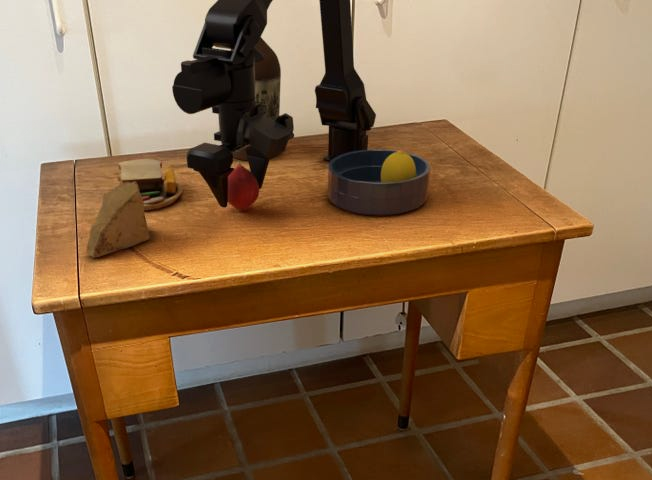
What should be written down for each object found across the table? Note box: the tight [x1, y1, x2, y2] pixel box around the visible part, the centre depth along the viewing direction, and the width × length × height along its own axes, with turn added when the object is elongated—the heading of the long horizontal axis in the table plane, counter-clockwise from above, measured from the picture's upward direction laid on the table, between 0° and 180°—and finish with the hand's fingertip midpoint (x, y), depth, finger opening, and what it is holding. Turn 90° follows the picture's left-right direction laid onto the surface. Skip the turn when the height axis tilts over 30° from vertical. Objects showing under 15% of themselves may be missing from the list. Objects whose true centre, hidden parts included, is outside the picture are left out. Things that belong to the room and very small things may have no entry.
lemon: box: [381, 149, 416, 183], centre depth 117 cm, size 6×6×8 cm
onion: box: [227, 161, 260, 212], centre depth 117 cm, size 6×6×8 cm
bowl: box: [327, 148, 431, 216], centre depth 120 cm, size 16×16×6 cm
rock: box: [86, 181, 150, 259], centre depth 108 cm, size 11×9×10 cm
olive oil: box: [229, 36, 282, 162], centre depth 136 cm, size 11×11×25 cm
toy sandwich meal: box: [112, 158, 183, 211], centre depth 124 cm, size 12×14×5 cm
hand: (241, 197), depth 118 cm, fingers open, 9 cm apart
